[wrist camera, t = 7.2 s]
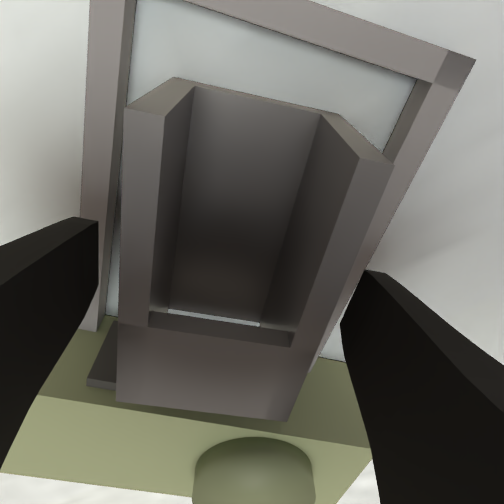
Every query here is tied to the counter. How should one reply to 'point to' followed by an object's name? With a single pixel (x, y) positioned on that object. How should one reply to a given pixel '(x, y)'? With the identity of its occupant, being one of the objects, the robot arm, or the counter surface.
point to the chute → (234, 244)
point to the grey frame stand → (106, 327)
